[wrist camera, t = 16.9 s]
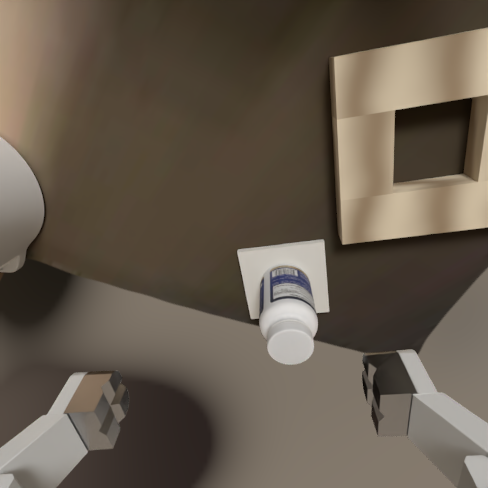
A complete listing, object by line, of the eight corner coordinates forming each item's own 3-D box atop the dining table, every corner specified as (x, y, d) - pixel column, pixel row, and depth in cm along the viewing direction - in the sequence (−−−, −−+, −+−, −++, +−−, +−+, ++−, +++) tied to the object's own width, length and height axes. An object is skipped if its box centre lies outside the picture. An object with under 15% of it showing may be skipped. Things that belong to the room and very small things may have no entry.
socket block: (338, 233, 35) (342, 244, 33) (328, 57, 28) (334, 57, 26) (508, 212, 33) (525, 223, 31) (545, 16, 26) (570, 12, 24)
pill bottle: (287, 311, 40) (292, 380, 31) (250, 285, 38) (245, 350, 30) (320, 280, 37) (336, 346, 29) (282, 252, 36) (287, 312, 27)
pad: (251, 315, 41) (251, 319, 40) (237, 249, 37) (237, 252, 36) (328, 308, 40) (329, 311, 39) (323, 239, 36) (324, 242, 35)
